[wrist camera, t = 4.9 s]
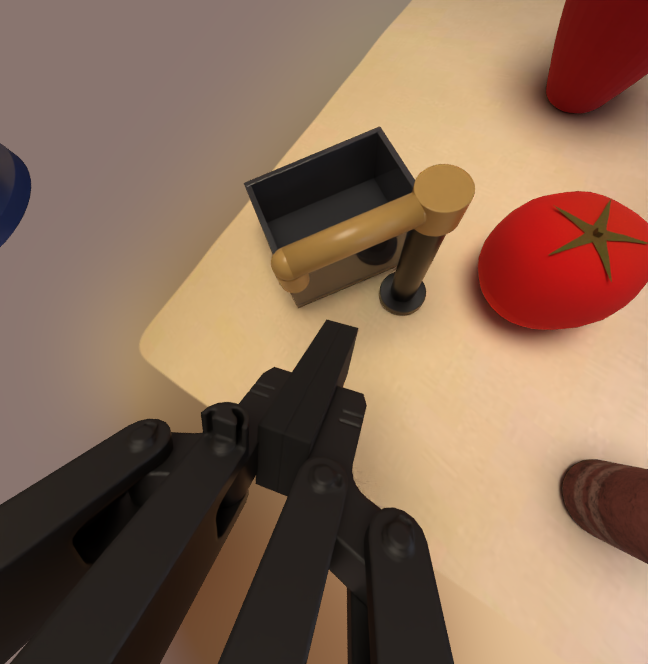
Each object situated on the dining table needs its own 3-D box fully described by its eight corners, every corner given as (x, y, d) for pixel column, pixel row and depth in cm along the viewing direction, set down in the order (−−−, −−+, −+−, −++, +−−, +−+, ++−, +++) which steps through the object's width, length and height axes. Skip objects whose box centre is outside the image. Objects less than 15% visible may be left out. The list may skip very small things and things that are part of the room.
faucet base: (371, 285, 32) (383, 204, 20) (411, 268, 32) (447, 177, 20) (391, 322, 31) (416, 260, 18) (432, 304, 31) (485, 231, 18)
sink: (263, 224, 36) (243, 182, 29) (375, 177, 36) (380, 125, 29) (298, 308, 32) (284, 281, 26) (421, 255, 32) (438, 216, 26)
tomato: (443, 306, 31) (487, 255, 21) (490, 223, 33) (549, 140, 23) (558, 364, 28) (673, 336, 18) (601, 269, 30) (725, 197, 20)
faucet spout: (440, 194, 20) (456, 155, 17) (465, 232, 19) (487, 197, 16) (273, 265, 20) (258, 238, 17) (290, 307, 19) (277, 286, 16)
